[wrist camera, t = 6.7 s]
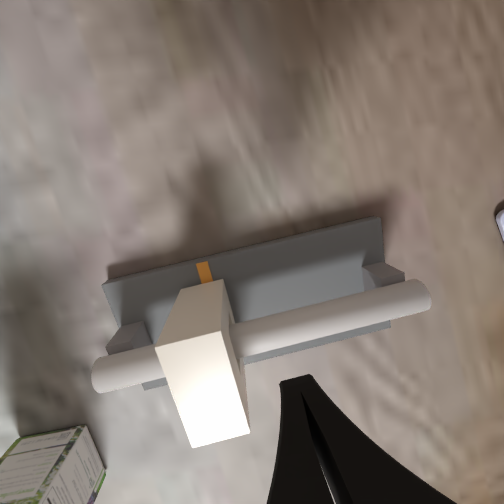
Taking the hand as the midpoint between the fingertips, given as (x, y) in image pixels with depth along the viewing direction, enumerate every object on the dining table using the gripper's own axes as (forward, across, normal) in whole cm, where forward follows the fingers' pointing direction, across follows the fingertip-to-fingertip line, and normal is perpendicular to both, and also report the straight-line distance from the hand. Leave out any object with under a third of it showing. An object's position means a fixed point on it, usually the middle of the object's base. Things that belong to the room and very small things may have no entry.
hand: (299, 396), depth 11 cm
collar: (+8, +4, 0) cm, 9 cm away
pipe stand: (+10, +1, 0) cm, 10 cm away
